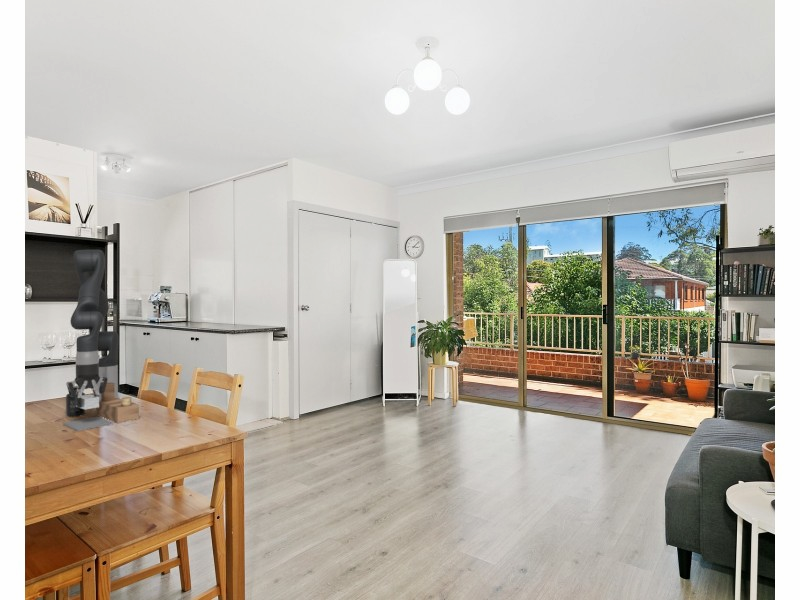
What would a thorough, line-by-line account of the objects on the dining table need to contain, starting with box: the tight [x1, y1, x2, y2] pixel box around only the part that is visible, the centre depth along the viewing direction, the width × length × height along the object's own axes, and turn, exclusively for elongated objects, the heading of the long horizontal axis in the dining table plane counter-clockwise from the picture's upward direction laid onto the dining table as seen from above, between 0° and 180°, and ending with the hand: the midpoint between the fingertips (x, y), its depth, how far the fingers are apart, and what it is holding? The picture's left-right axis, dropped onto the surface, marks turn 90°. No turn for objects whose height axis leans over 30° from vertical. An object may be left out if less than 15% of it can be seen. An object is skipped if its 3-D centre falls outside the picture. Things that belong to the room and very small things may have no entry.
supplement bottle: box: [65, 385, 87, 418], centre depth 201 cm, size 7×7×12 cm
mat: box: [62, 416, 114, 432], centre depth 186 cm, size 14×12×1 cm
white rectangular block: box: [76, 393, 99, 410], centre depth 186 cm, size 8×5×4 cm, turn 54°
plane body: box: [95, 382, 140, 424], centre depth 198 cm, size 20×8×13 cm, turn 54°
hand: (87, 405), depth 186 cm, fingers closed on white rectangular block, 5 cm apart
